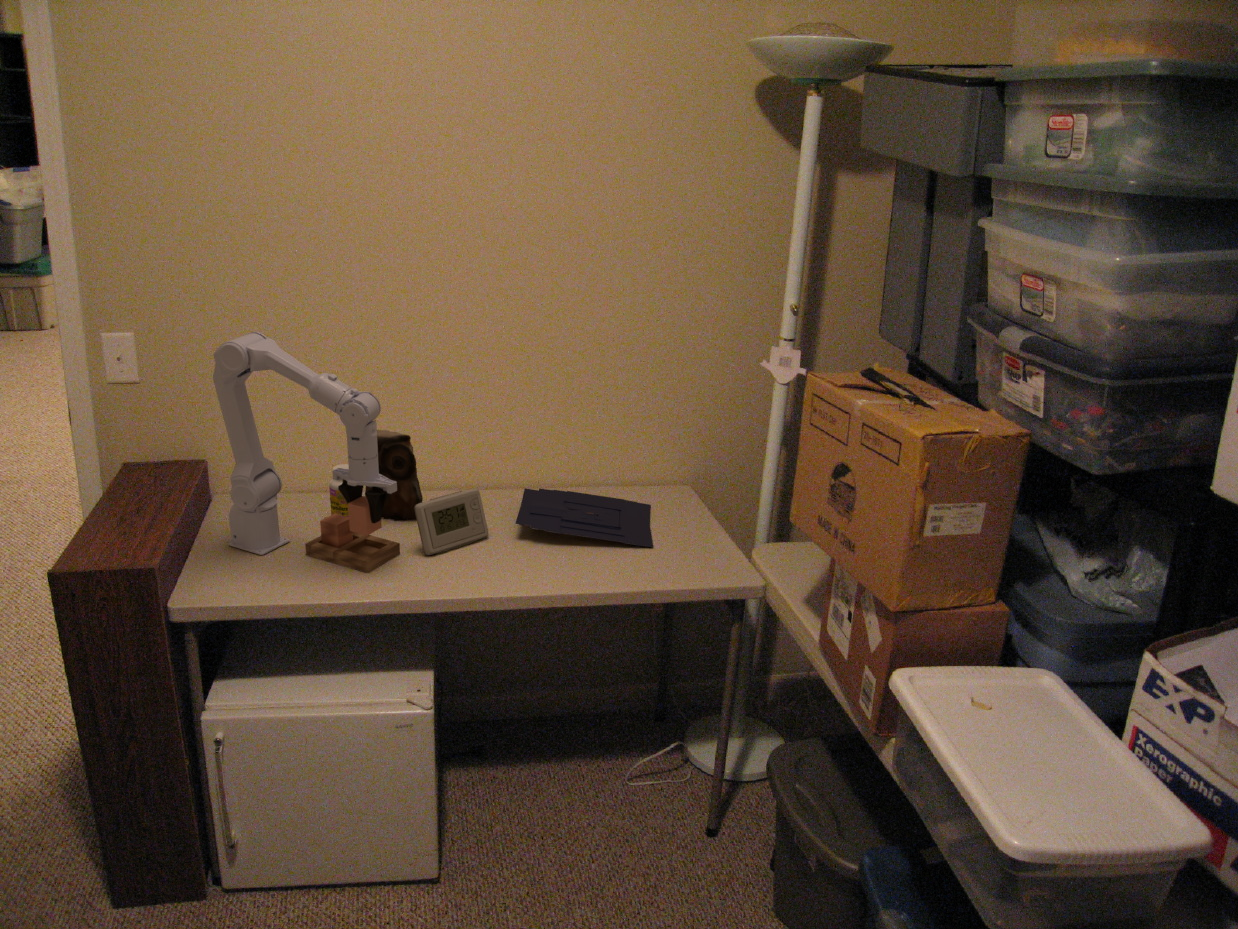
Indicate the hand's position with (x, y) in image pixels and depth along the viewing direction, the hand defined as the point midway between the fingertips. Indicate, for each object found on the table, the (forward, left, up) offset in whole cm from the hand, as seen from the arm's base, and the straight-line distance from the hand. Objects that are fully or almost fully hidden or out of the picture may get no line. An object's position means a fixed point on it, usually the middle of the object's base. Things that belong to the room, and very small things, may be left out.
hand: (366, 518), depth 193 cm
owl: (-10, +23, -9) cm, 27 cm away
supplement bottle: (-16, +12, -9) cm, 22 cm away
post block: (0, 0, -2) cm, 2 cm away
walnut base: (-4, 0, -9) cm, 10 cm away
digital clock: (+10, +15, -9) cm, 20 cm away
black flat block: (+29, +39, -9) cm, 50 cm away
